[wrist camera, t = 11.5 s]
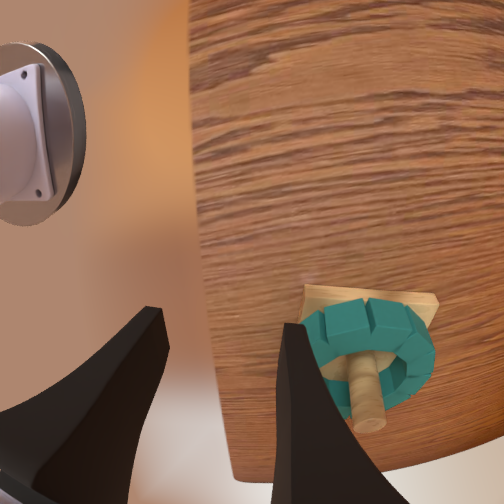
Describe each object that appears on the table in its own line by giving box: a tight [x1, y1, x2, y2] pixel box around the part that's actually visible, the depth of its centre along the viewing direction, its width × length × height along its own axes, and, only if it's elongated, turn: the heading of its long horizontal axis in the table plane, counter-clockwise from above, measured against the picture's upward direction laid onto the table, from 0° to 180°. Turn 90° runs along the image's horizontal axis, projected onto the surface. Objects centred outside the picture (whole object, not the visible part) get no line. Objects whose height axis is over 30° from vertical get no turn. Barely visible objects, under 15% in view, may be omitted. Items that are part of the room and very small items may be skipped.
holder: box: [297, 284, 439, 433], centre depth 18 cm, size 9×9×7 cm
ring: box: [299, 297, 435, 419], centre depth 19 cm, size 10×10×2 cm
